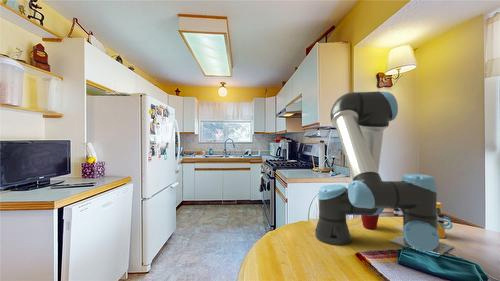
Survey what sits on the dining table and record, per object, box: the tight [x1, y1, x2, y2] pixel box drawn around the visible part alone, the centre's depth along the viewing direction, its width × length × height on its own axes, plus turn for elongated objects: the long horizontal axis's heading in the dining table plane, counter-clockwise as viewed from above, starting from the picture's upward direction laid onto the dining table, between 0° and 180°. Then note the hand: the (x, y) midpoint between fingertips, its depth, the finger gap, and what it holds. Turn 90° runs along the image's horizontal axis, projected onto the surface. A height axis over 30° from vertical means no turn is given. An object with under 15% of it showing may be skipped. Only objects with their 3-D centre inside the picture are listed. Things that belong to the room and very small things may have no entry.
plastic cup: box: [360, 214, 380, 231], centre depth 108 cm, size 11×11×12 cm
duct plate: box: [389, 234, 454, 254], centre depth 90 cm, size 16×16×3 cm
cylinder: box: [437, 201, 453, 239], centre depth 99 cm, size 12×10×15 cm
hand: (415, 204), depth 86 cm, fingers closed on pill bottle, 6 cm apart
